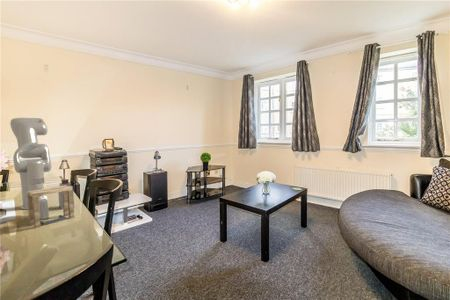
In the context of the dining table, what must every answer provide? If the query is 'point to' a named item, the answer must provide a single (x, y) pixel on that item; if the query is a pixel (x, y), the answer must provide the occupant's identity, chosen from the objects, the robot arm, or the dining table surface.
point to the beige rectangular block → (64, 182)
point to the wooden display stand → (33, 195)
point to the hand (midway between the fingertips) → (38, 211)
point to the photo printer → (43, 207)
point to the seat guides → (53, 220)
